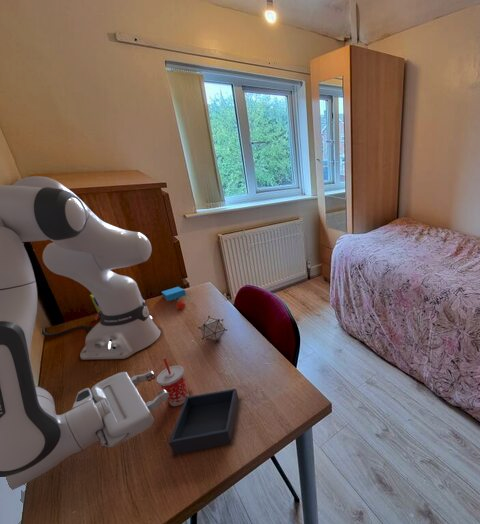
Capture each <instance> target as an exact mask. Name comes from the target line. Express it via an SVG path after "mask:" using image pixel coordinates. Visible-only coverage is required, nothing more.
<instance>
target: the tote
mask: <svg viewBox="0 0 480 524" xmlns="http://www.w3.org/2000/svg"><path fill="white" fill-rule="evenodd" d="M239 401H240V399H239V394H238V391H237V388H230V389H225V390H219V391H213V392H207V393H202V394H195V395H189V396H188V397H186V399H185V402H184V403H183V404H182V408H181V409H180V412H179V415H178V418H177V421H176V423H175V426H174V428H173V431H172V433H171V437H170V439H169V441H168V444H169V446H170V448H171V451H172V453H173V455H174V456H175V455H182V454H184V453H191V452H197V451H200V450H206V449H211V448H216V447H220V446H225V445H231V444H232V442H233V435H234V430H235V425H236V419H237V413H238V407H239Z"/></svg>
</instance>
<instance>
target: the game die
mask: <svg viewBox="0 0 480 524" xmlns="http://www.w3.org/2000/svg"><path fill="white" fill-rule="evenodd" d="M207 316H208V317H207V320H206V321H205V322H204V323H203V324H202V325H201V327H200V326H199V327H197V329H200V331H201V334H202V338H201V340H204V339H207V340H211V341H215V342H216V343H218V342H219V341H218V339H220V338H221V336H222V335H223V334H224V333H225V332H227V331H228V329H227V328H226V327H225V325H224V322H223V321H224V318H222V319H221V318H218V319H217V318H213V317H211V315H207Z"/></svg>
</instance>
